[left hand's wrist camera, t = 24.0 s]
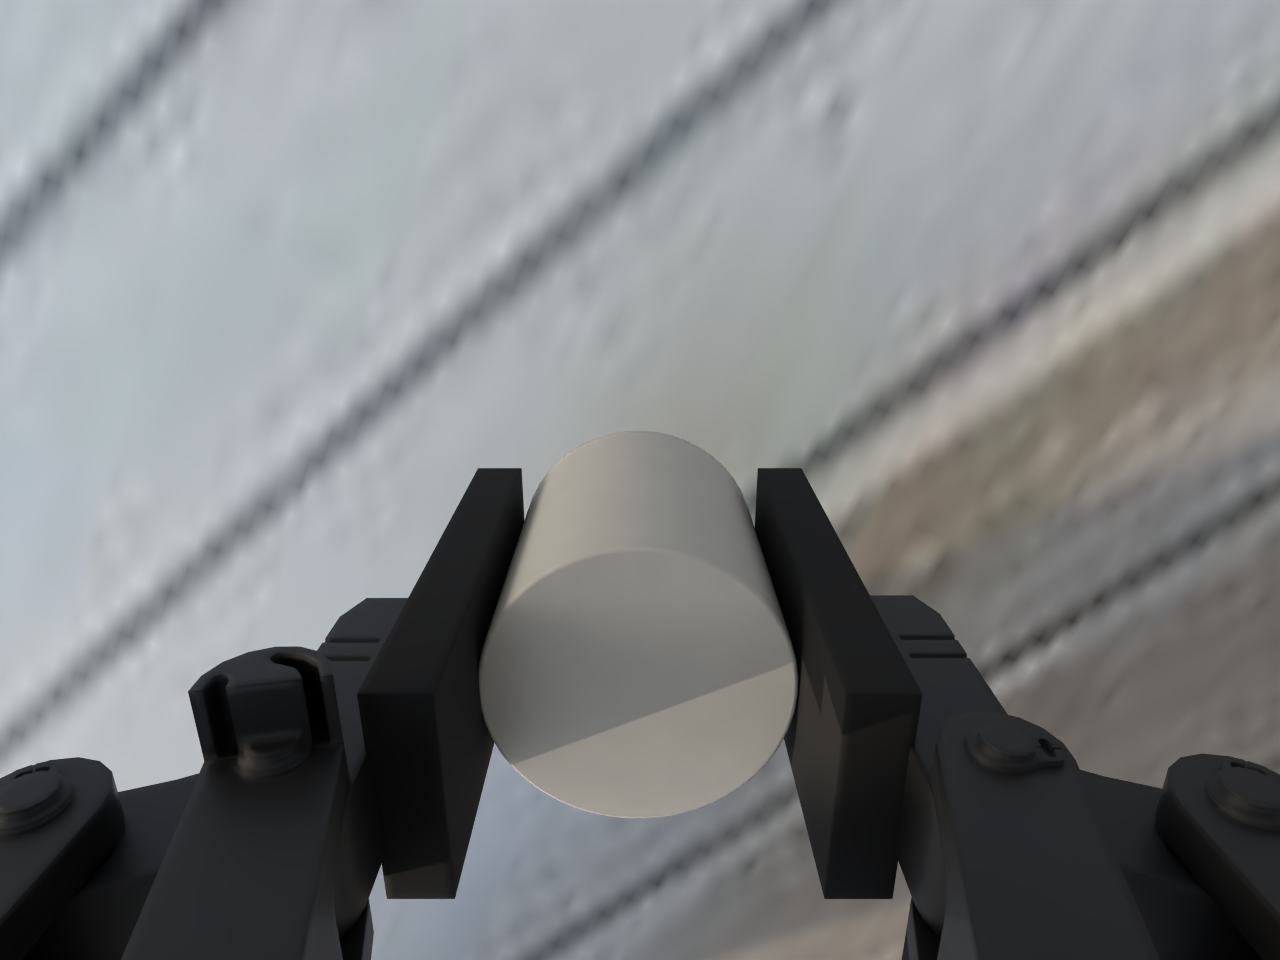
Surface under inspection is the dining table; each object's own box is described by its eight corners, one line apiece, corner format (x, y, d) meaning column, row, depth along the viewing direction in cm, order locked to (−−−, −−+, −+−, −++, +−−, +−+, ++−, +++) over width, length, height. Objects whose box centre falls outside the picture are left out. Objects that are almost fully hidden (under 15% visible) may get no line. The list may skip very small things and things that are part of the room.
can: (773, 449, 14) (834, 575, 10) (726, 649, 16) (760, 838, 11) (540, 412, 14) (494, 524, 10) (513, 619, 15) (462, 799, 11)
